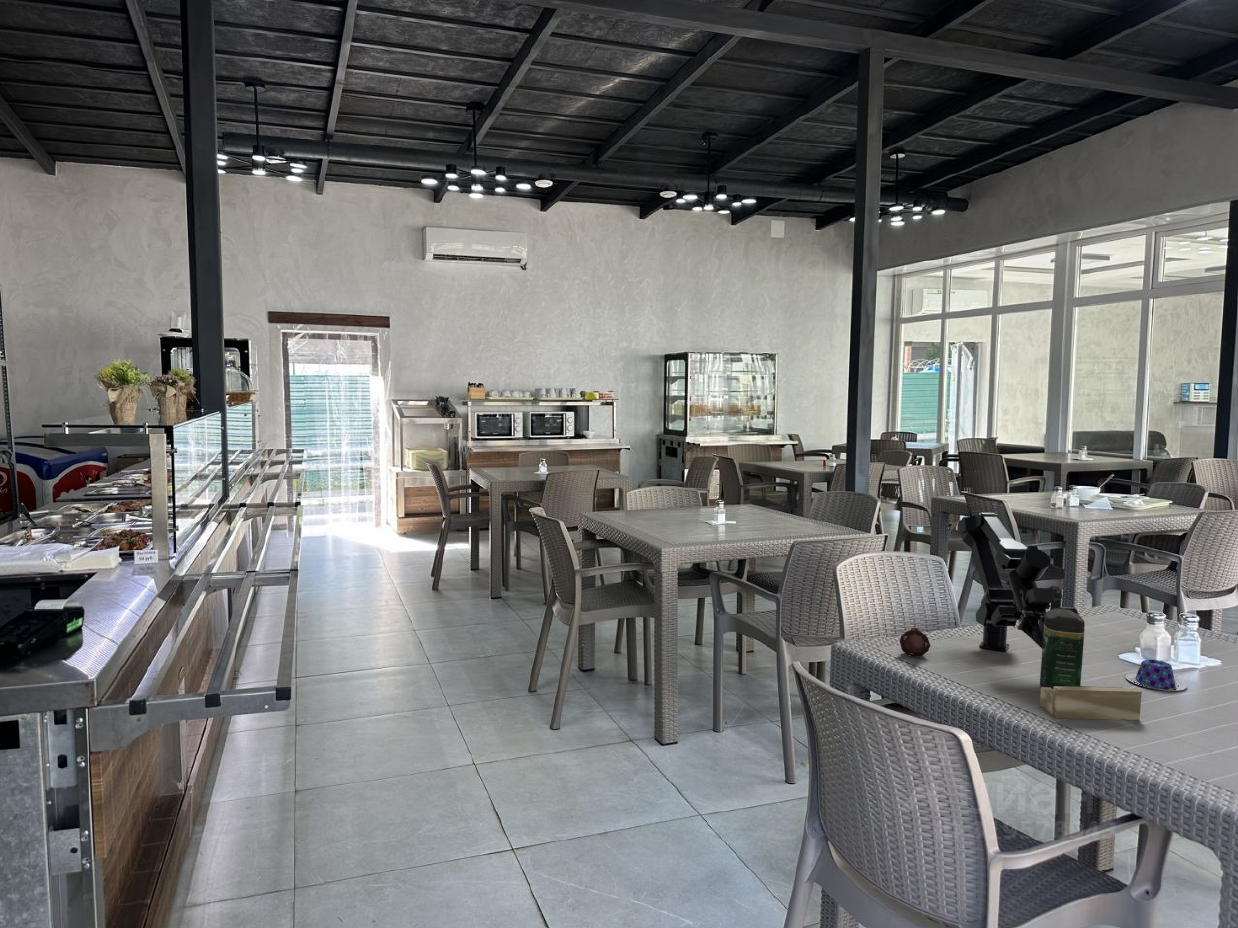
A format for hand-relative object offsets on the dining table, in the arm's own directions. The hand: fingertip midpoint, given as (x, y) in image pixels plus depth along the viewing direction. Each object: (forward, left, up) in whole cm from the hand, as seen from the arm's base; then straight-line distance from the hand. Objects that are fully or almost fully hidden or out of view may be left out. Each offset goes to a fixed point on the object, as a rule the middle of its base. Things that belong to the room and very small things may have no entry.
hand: (1045, 648), depth 193 cm
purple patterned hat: (-14, +22, -8) cm, 27 cm away
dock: (+16, +10, -8) cm, 21 cm away
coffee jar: (+6, +4, -8) cm, 11 cm away
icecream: (-2, -30, -8) cm, 31 cm away
